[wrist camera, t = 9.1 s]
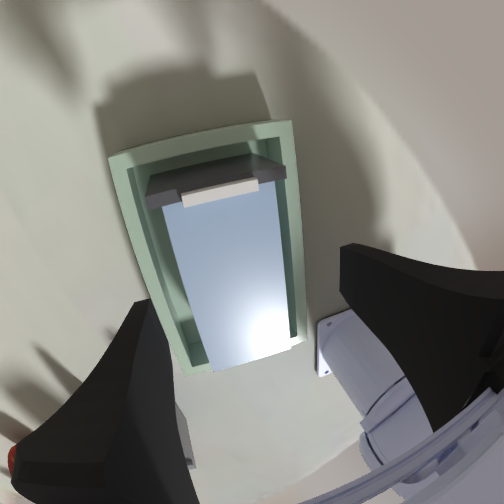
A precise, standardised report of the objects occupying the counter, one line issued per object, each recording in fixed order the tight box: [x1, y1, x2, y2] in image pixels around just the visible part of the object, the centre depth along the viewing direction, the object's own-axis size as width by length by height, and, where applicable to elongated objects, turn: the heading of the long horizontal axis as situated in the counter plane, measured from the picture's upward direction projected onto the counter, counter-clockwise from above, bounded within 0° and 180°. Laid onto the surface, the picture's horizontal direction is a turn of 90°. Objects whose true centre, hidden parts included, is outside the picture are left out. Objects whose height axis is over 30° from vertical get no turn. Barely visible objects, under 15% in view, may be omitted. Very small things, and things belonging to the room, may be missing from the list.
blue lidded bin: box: [145, 153, 291, 372], centre depth 17 cm, size 6×11×6 cm, turn 8°
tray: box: [108, 120, 308, 376], centre depth 19 cm, size 10×16×3 cm, turn 8°
